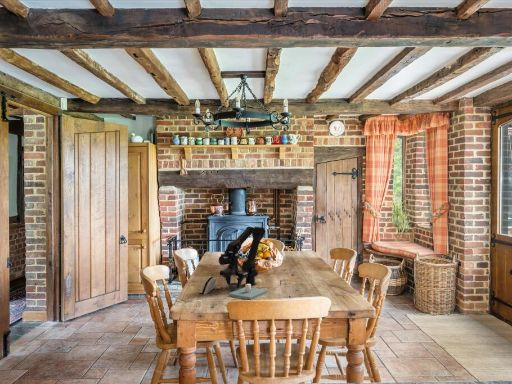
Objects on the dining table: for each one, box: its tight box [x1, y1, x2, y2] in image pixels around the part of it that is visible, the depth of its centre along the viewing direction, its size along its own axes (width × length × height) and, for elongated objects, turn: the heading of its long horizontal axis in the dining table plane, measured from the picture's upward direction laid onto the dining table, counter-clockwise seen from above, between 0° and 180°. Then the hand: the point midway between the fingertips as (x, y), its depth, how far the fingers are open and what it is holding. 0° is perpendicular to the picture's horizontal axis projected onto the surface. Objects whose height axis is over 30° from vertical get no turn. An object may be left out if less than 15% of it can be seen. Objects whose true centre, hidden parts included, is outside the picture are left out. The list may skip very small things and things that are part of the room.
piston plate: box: [228, 283, 268, 300], centre depth 248 cm, size 18×16×6 cm
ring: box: [227, 282, 241, 291], centre depth 261 cm, size 7×7×3 cm
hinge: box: [197, 275, 217, 296], centre depth 256 cm, size 17×5×10 cm, turn 168°
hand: (233, 287), depth 261 cm, fingers closed on ring, 7 cm apart
